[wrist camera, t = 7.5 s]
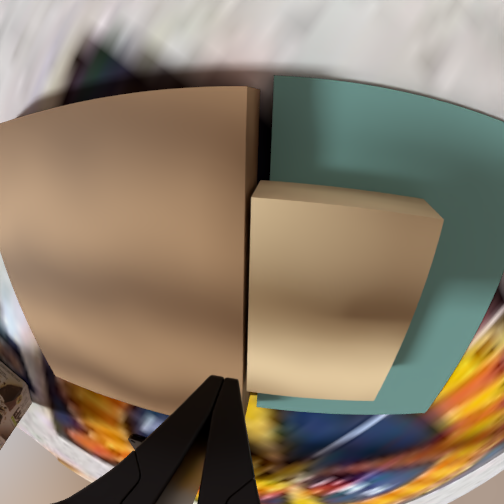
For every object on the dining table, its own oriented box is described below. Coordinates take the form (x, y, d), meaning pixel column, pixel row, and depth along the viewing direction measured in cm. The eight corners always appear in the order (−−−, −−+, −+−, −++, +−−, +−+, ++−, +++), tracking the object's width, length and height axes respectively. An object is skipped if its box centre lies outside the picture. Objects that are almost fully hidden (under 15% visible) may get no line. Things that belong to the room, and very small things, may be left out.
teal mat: (424, 407, 16) (425, 412, 15) (257, 401, 17) (256, 406, 17) (532, 135, 8) (538, 136, 7) (274, 76, 9) (273, 75, 9)
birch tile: (369, 370, 14) (373, 400, 12) (253, 360, 15) (246, 391, 13) (423, 199, 10) (444, 219, 8) (260, 180, 11) (250, 197, 9)
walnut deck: (249, 395, 17) (242, 430, 15) (72, 352, 19) (55, 376, 17) (259, 89, 10) (247, 86, 7) (11, 121, 11) (-24, 132, 9)
